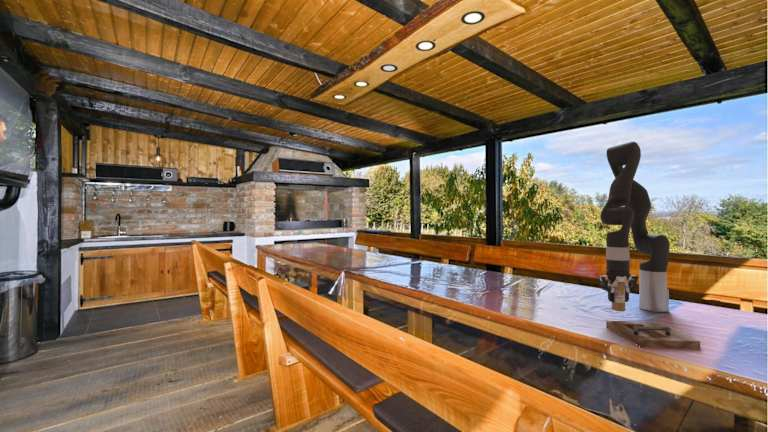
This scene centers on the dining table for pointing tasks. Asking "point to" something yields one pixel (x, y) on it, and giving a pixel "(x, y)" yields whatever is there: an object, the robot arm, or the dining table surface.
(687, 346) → the flat wooden frame
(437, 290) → the dining table surface
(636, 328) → the hook rod
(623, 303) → the sprinkles bottle
